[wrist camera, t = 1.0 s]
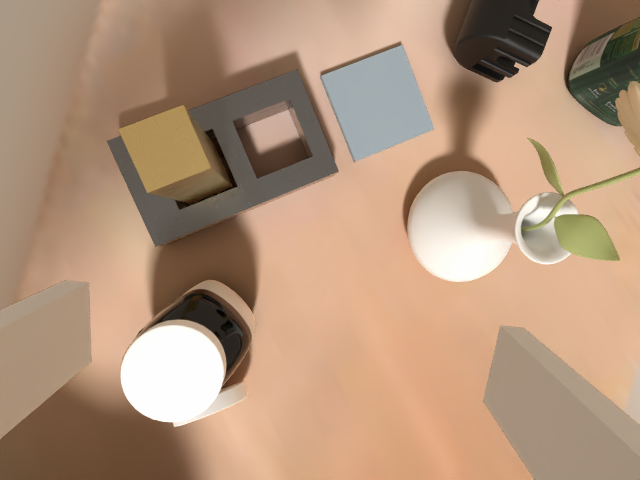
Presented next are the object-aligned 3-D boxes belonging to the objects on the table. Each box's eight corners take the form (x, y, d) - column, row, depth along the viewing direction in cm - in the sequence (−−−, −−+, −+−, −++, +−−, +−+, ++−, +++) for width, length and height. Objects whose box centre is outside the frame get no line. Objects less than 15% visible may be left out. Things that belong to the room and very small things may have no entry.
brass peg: (190, 203, 35) (147, 193, 24) (171, 161, 35) (118, 129, 23) (232, 186, 36) (211, 167, 24) (214, 144, 35) (183, 104, 24)
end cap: (472, -28, 38) (515, -82, 31) (530, 1, 39) (583, -45, 32) (438, 61, 38) (473, 26, 31) (497, 88, 39) (543, 60, 32)
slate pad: (353, 162, 37) (355, 161, 37) (320, 78, 36) (321, 75, 36) (431, 130, 38) (434, 128, 37) (400, 47, 37) (402, 44, 37)
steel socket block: (165, 244, 35) (155, 246, 32) (121, 148, 34) (106, 141, 31) (333, 175, 37) (338, 171, 34) (295, 81, 36) (297, 69, 33)
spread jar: (214, 263, 36) (185, 282, 24) (294, 340, 37) (301, 393, 26) (125, 349, 35) (51, 410, 24) (209, 425, 37) (178, 517, 25)
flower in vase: (514, 259, 40) (906, 320, 15) (419, 293, 39) (674, 419, 14) (482, 145, 39) (847, 6, 14) (383, 176, 38) (591, 85, 13)
